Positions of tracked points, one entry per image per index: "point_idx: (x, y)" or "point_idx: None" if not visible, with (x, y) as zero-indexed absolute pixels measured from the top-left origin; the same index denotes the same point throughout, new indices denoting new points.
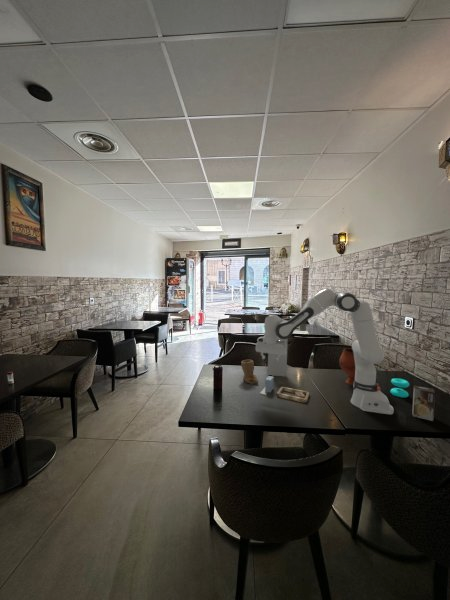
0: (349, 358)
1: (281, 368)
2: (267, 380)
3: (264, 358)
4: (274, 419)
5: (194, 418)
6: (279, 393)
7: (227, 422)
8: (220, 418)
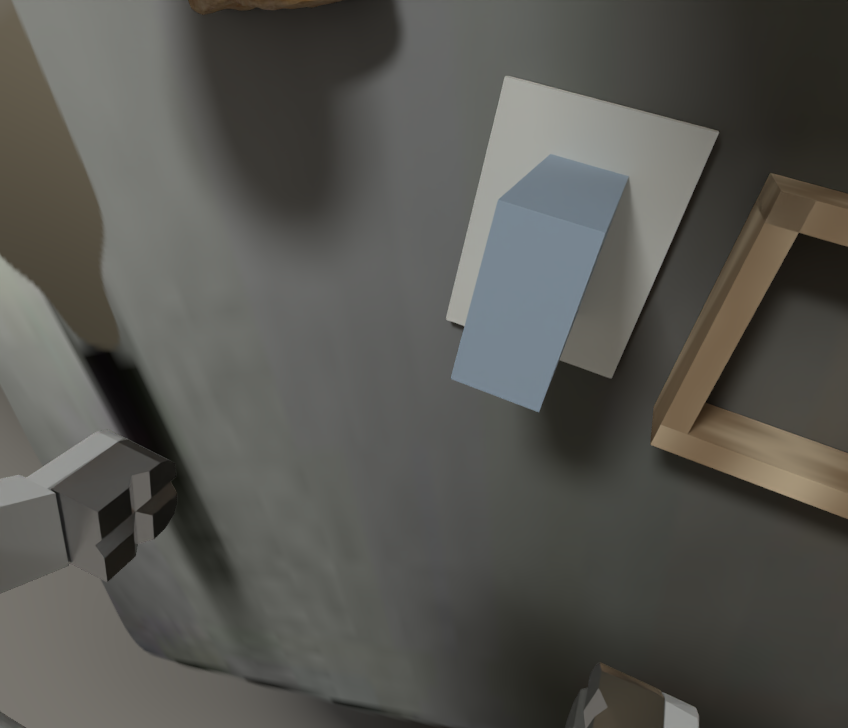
0: None
1: None
2: (487, 384)
3: (158, 518)
4: None
5: (161, 637)
6: (689, 450)
7: (315, 687)
8: (268, 652)
